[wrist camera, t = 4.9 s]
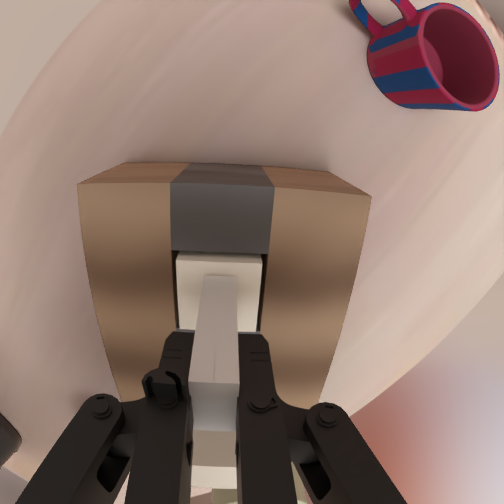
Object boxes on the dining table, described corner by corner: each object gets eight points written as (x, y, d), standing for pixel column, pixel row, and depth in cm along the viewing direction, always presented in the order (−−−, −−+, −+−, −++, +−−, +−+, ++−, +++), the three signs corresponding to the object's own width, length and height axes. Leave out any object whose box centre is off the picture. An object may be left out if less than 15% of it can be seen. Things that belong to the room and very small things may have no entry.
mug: (411, 126, 19) (470, 134, 13) (312, 28, 16) (345, -8, 10) (452, 75, 17) (511, 72, 11) (364, -19, 14) (407, -55, 8)
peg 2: (193, 413, 22) (188, 486, 16) (190, 382, 20) (182, 464, 14) (242, 414, 22) (247, 488, 16) (245, 384, 21) (251, 466, 14)
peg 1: (193, 268, 22) (179, 328, 15) (193, 215, 20) (175, 260, 14) (248, 271, 22) (255, 331, 16) (253, 218, 21) (262, 263, 14)
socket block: (288, 395, 29) (298, 451, 22) (151, 390, 28) (139, 445, 21) (329, 172, 20) (371, 196, 14) (124, 163, 19) (77, 183, 12)
